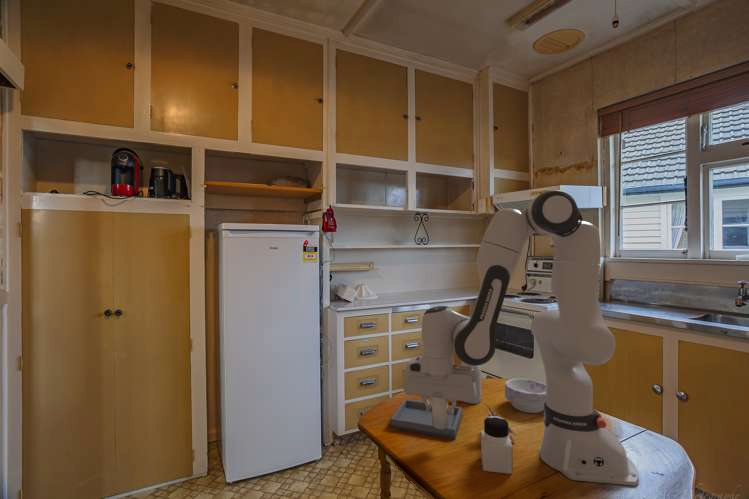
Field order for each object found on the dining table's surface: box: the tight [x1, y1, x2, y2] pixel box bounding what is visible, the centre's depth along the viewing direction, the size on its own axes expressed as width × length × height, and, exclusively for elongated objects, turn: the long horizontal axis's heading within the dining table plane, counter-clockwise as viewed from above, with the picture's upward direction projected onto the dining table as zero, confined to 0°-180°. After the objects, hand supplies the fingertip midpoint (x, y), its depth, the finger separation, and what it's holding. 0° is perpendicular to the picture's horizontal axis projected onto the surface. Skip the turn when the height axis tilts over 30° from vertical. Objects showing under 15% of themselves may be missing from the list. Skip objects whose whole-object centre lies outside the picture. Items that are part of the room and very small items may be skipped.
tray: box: [390, 398, 463, 441], centre depth 122 cm, size 20×16×3 cm
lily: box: [484, 403, 516, 443], centre depth 111 cm, size 12×12×10 cm
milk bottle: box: [460, 361, 482, 405], centre depth 139 cm, size 8×8×20 cm
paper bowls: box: [504, 378, 546, 414], centre depth 132 cm, size 15×15×8 cm
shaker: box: [430, 392, 449, 429], centre depth 107 cm, size 5×5×10 cm
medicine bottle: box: [480, 415, 513, 475], centre depth 98 cm, size 7×7×12 cm
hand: (439, 412), depth 107 cm, fingers closed on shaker, 5 cm apart
